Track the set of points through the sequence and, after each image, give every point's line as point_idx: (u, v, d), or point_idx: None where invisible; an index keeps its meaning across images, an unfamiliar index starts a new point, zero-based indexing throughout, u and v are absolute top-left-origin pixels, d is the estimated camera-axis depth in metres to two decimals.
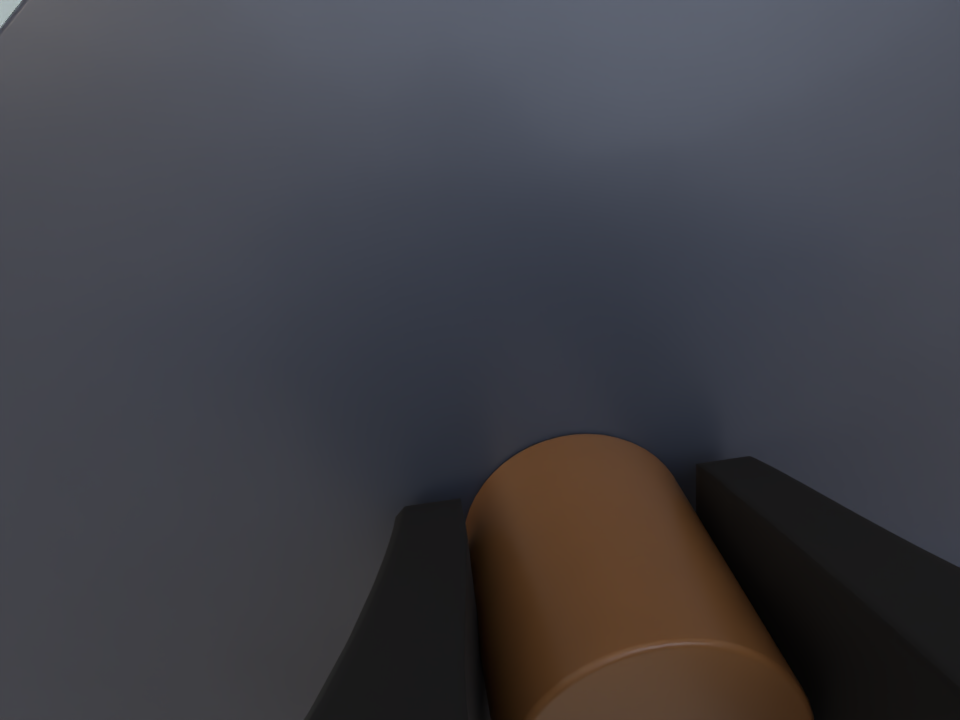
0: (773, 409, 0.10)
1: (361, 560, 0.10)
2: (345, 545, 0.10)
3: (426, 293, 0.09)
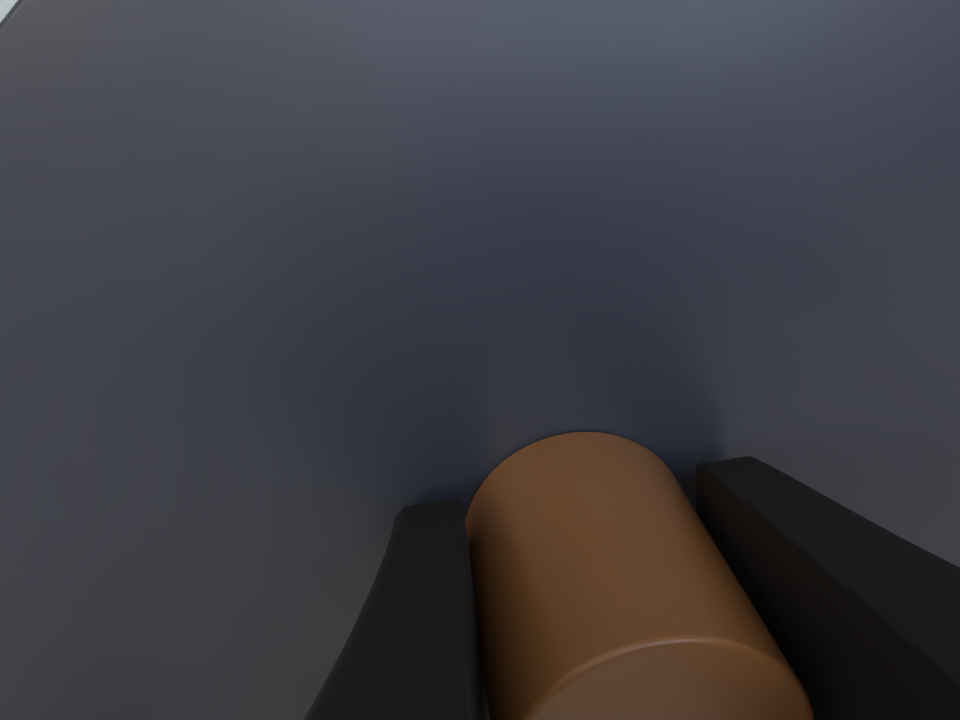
0: (773, 407, 0.10)
1: (360, 558, 0.10)
2: (344, 543, 0.10)
3: (425, 290, 0.09)
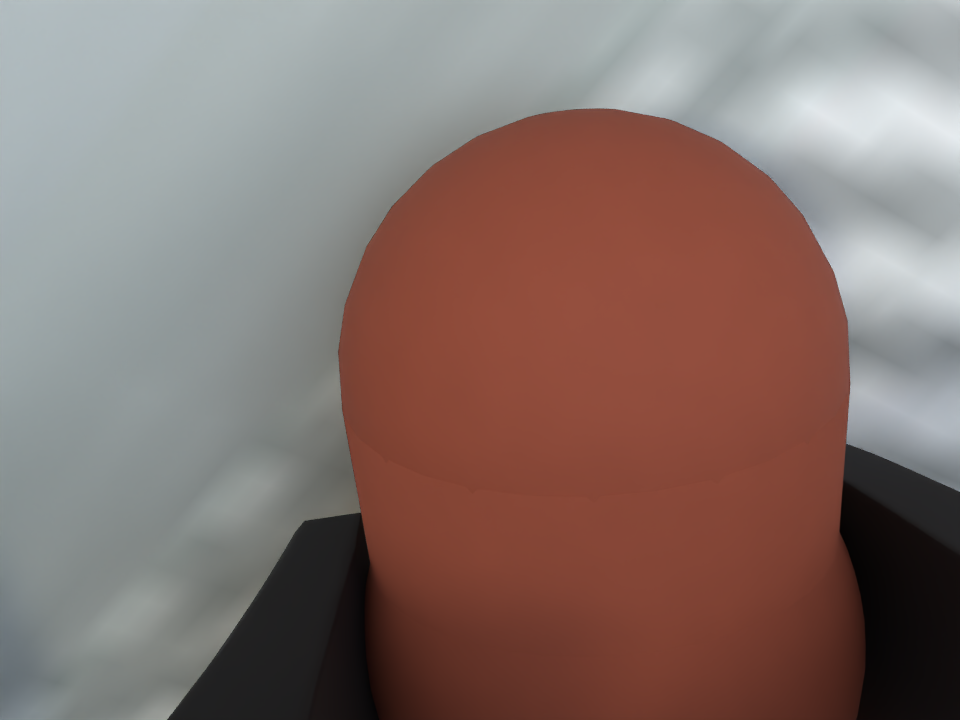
0: None
1: None
2: None
3: None
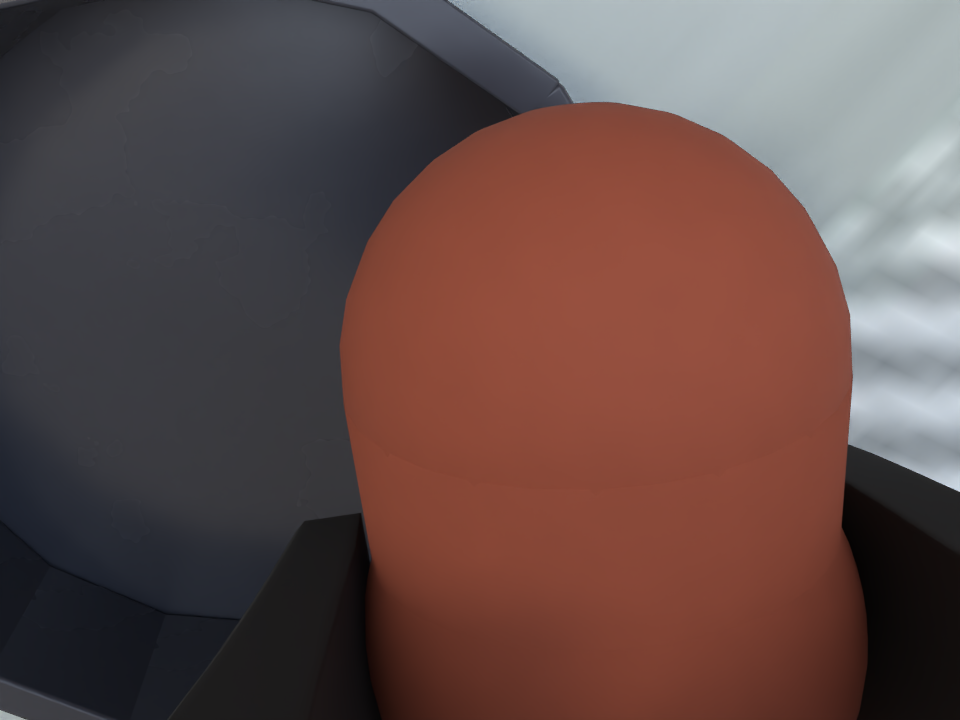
0: None
1: None
2: None
3: None
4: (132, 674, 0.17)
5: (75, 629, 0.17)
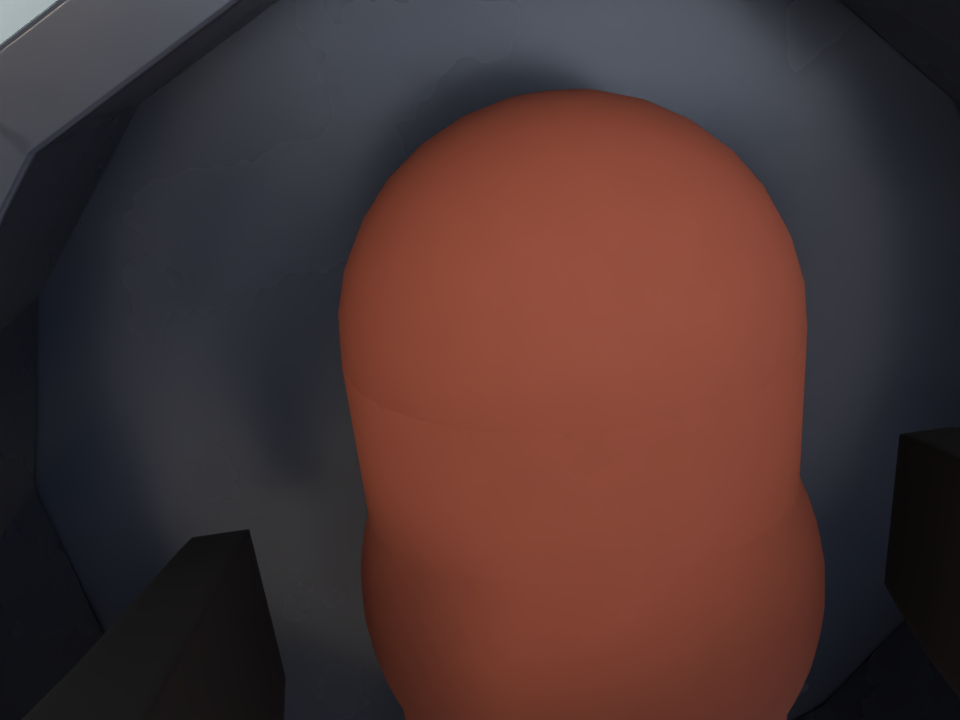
0: None
1: None
2: None
3: None
4: None
5: None
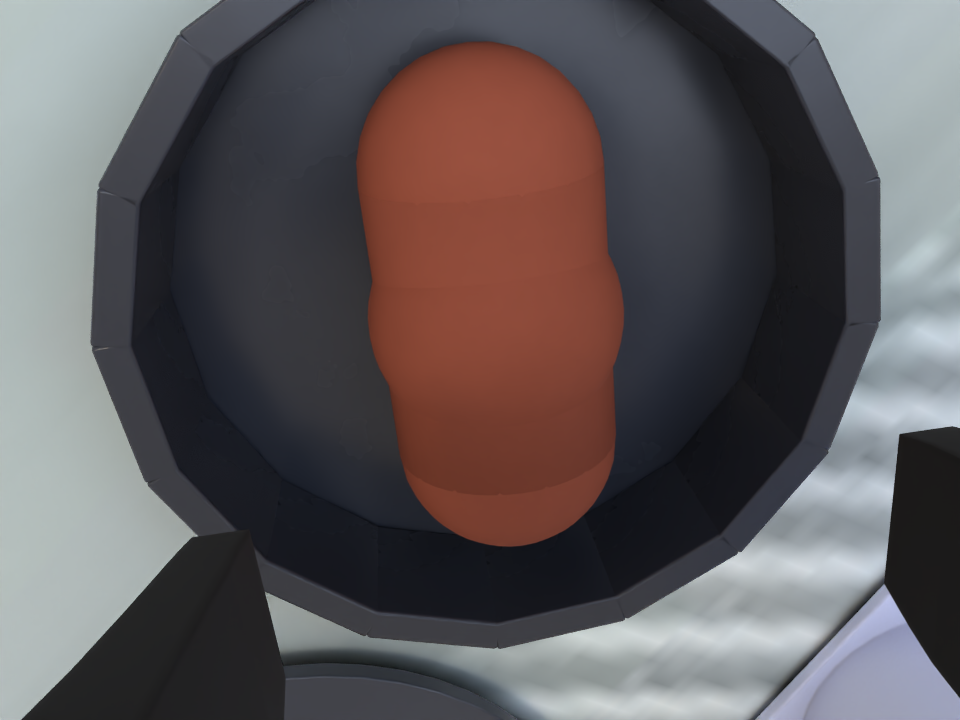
0: None
1: None
2: None
3: None
4: (368, 571, 0.19)
5: (316, 532, 0.19)
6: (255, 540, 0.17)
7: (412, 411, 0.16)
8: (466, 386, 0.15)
